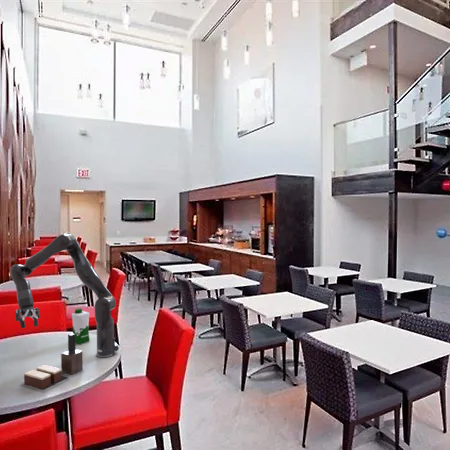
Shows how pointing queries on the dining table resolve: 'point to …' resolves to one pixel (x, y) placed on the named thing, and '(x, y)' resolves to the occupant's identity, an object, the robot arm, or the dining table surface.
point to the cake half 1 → (37, 379)
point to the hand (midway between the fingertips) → (30, 327)
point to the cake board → (49, 385)
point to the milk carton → (81, 326)
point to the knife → (71, 343)
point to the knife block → (71, 362)
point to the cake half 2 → (51, 372)
